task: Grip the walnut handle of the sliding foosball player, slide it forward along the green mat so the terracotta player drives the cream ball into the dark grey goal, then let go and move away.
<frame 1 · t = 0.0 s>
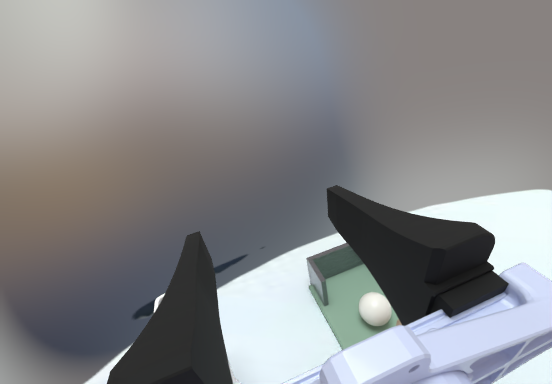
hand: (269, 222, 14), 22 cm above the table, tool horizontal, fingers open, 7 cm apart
goal: (349, 285, 35), resting on pitch mat
ball: (374, 308, 29), point 2 cm above the table, touching pitch mat
pitch mat: (385, 336, 29), on the table
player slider: (432, 371, 22), point 4 cm above the table, slide at 0.0 cm
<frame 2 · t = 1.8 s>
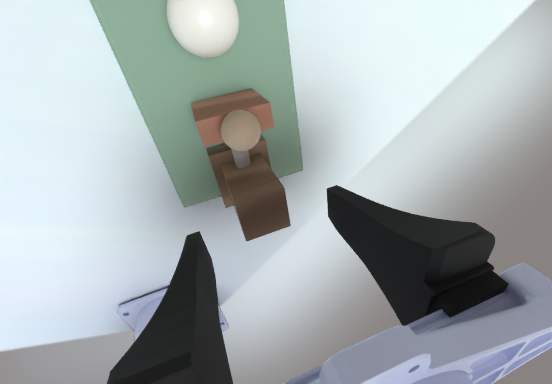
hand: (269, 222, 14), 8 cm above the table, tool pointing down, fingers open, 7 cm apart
ball: (204, 18, 13), point 2 cm above the table, touching pitch mat
pitch mat: (210, 58, 16), on the table
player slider: (245, 165, 16), point 4 cm above the table, slide at 0.0 cm
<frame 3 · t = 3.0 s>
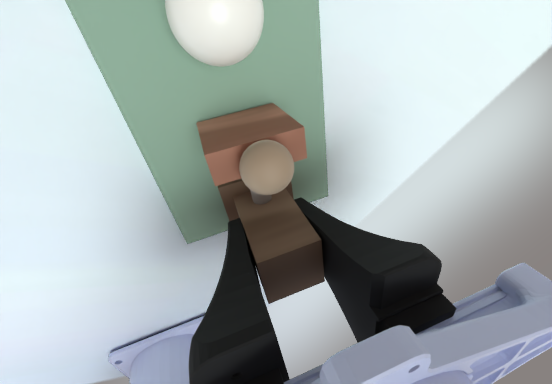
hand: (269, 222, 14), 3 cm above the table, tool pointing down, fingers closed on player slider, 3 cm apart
ball: (216, 14, 10), point 2 cm above the table, touching pitch mat
pitch mat: (221, 65, 13), on the table
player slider: (266, 202, 13), point 4 cm above the table, slide at 0.0 cm, touching gripper
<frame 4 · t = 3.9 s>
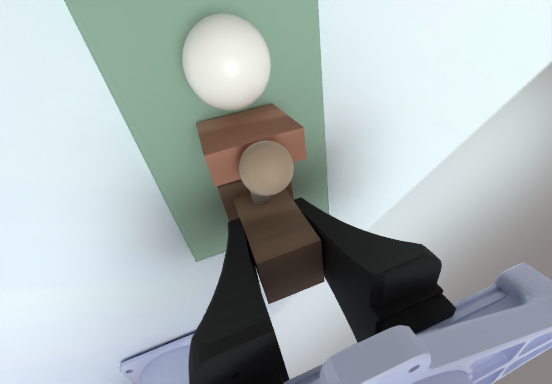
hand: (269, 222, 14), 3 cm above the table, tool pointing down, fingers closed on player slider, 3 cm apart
ball: (227, 65, 11), point 2 cm above the table, touching pitch mat
pitch mat: (230, 101, 14), on the table
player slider: (265, 203, 13), point 4 cm above the table, slide at 1.7 cm, touching gripper
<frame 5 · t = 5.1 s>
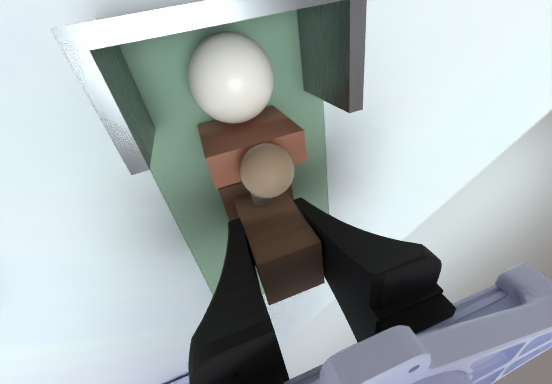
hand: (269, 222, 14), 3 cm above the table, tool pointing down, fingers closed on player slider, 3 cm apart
goal: (223, 71, 13), resting on pitch mat
ball: (231, 80, 11), point 2 cm above the table, tilted 178°, touching pitch mat
pitch mat: (254, 194, 17), on the table
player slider: (266, 204, 13), point 4 cm above the table, slide at 7.6 cm, touching gripper
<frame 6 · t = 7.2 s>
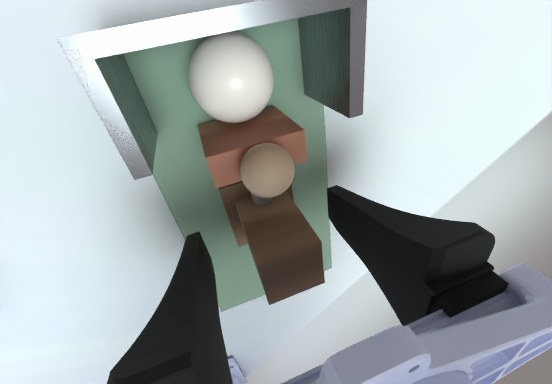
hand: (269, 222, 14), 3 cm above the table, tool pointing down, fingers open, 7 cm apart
goal: (224, 76, 13), resting on pitch mat
ball: (232, 79, 11), point 2 cm above the table, tilted 175°, touching pitch mat
pitch mat: (254, 197, 17), on the table
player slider: (266, 204, 13), point 4 cm above the table, slide at 7.9 cm
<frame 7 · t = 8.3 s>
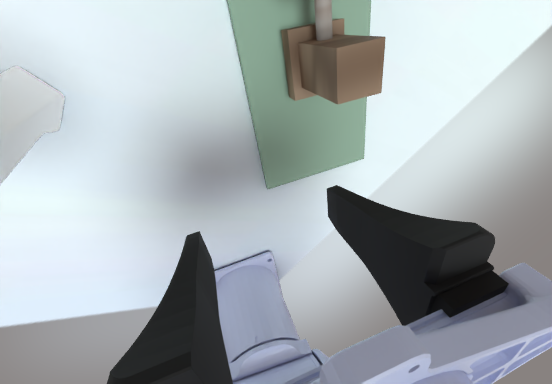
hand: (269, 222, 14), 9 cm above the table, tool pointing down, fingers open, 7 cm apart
pitch mat: (307, 64, 20), on the table
perfume bottle: (32, 101, 16), on the table
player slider: (331, 33, 15), point 4 cm above the table, slide at 7.9 cm
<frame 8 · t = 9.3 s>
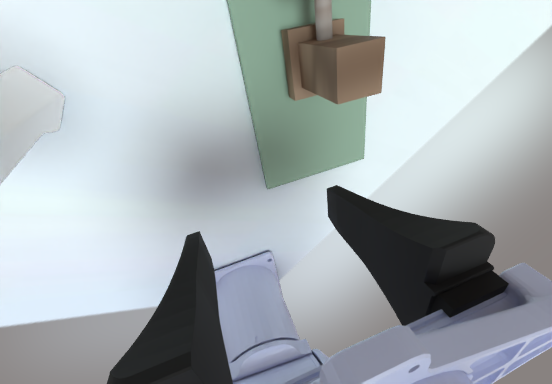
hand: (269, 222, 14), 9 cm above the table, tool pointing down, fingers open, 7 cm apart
pitch mat: (307, 64, 20), on the table
perfume bottle: (32, 101, 16), on the table
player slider: (331, 33, 15), point 4 cm above the table, slide at 7.9 cm
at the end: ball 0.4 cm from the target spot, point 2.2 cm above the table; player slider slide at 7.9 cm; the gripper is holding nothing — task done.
